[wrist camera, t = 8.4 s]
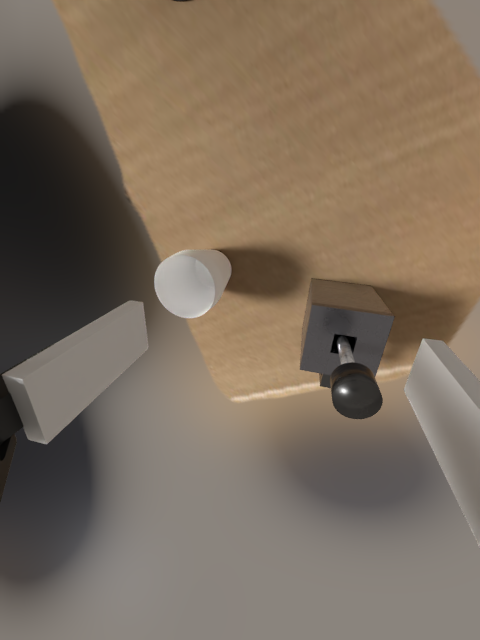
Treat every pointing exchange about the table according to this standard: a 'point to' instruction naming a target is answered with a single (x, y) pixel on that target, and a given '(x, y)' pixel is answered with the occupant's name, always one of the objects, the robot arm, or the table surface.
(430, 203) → the table surface
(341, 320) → the grey box with handle
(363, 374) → the plunger
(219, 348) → the table surface
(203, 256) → the cup
